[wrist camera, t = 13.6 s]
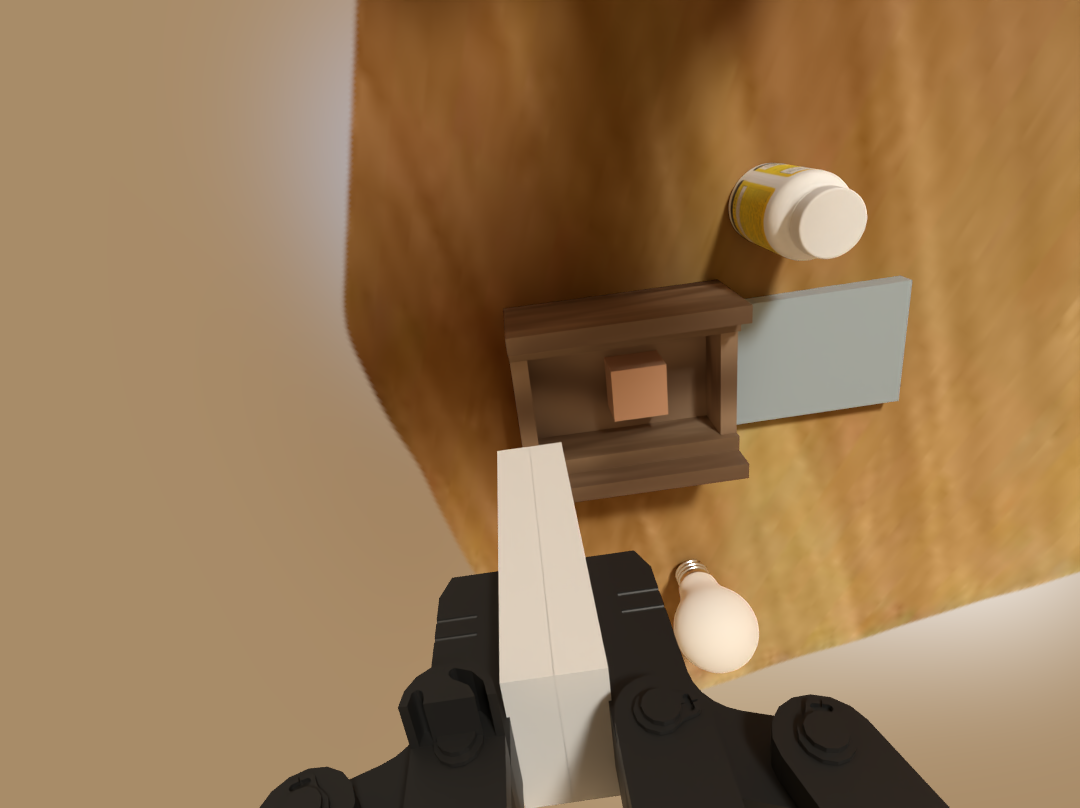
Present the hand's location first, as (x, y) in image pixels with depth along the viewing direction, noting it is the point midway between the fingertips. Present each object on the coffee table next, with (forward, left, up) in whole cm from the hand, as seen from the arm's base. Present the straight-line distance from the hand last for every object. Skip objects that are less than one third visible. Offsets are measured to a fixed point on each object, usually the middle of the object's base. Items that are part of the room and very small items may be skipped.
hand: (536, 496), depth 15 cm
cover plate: (+11, +22, -33) cm, 41 cm away
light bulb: (+31, +12, -33) cm, 47 cm away
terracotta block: (+11, +8, -31) cm, 34 cm away
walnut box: (+11, +7, -32) cm, 35 cm away
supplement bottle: (-1, +18, -33) cm, 37 cm away
